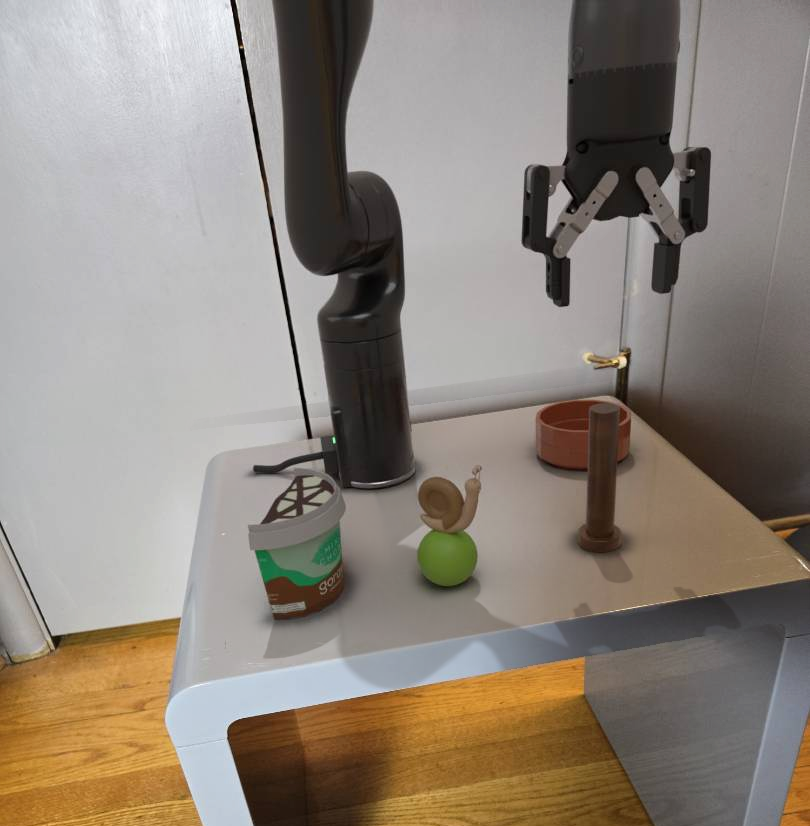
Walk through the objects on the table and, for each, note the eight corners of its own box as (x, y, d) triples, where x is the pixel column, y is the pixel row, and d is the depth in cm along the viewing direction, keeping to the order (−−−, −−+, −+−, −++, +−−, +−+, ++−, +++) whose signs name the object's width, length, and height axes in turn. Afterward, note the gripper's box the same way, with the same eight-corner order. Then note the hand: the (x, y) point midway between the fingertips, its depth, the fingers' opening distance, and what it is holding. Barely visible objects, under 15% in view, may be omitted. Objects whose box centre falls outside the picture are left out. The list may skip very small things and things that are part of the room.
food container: (335, 633, 62) (318, 529, 57) (267, 629, 64) (245, 528, 59) (370, 558, 73) (358, 465, 68) (311, 556, 74) (295, 465, 69)
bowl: (552, 477, 85) (553, 437, 82) (525, 443, 94) (524, 406, 92) (644, 464, 86) (647, 423, 83) (607, 432, 95) (609, 394, 93)
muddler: (586, 555, 69) (590, 418, 63) (572, 535, 73) (574, 403, 66) (627, 548, 70) (635, 412, 63) (611, 529, 73) (617, 397, 67)
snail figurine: (471, 606, 64) (463, 480, 58) (408, 589, 67) (395, 468, 61) (498, 575, 68) (494, 454, 62) (438, 561, 71) (428, 445, 65)
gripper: (690, 59, 56) (672, 280, 64) (509, 77, 55) (513, 300, 63) (745, 49, 50) (717, 296, 58) (541, 69, 48) (541, 319, 56)
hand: (610, 298), depth 60 cm, fingers open, 8 cm apart
